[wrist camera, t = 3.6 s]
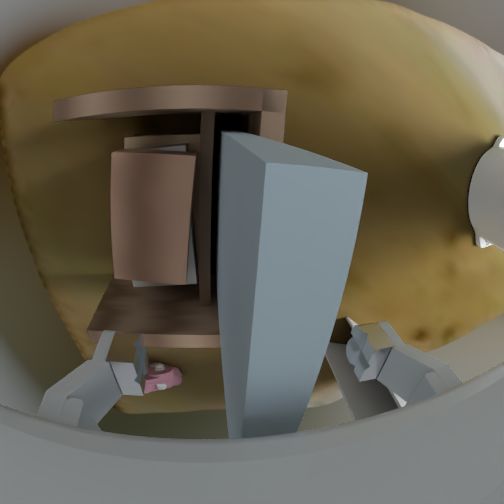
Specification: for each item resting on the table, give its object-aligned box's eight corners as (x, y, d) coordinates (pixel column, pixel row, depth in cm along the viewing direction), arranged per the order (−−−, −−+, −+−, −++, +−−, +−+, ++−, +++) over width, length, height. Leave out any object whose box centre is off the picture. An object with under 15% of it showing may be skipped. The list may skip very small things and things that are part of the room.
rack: (260, 101, 24) (287, 90, 16) (247, 285, 33) (261, 346, 24) (103, 104, 22) (53, 100, 13) (116, 284, 31) (91, 342, 22)
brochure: (318, 342, 39) (401, 536, 12) (346, 316, 37) (454, 509, 11) (367, 369, 44) (439, 511, 17) (390, 349, 43) (474, 488, 16)
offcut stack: (202, 133, 25) (197, 137, 18) (200, 257, 31) (198, 303, 23) (131, 136, 24) (99, 142, 17) (138, 257, 30) (118, 302, 22)
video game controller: (178, 351, 38) (169, 370, 31) (185, 380, 38) (178, 401, 31) (117, 356, 38) (99, 373, 31) (125, 383, 38) (109, 403, 31)
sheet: (236, 130, 25) (367, 173, 4) (230, 262, 31) (269, 491, 10) (219, 129, 25) (265, 162, 4) (215, 262, 31) (236, 494, 10)
